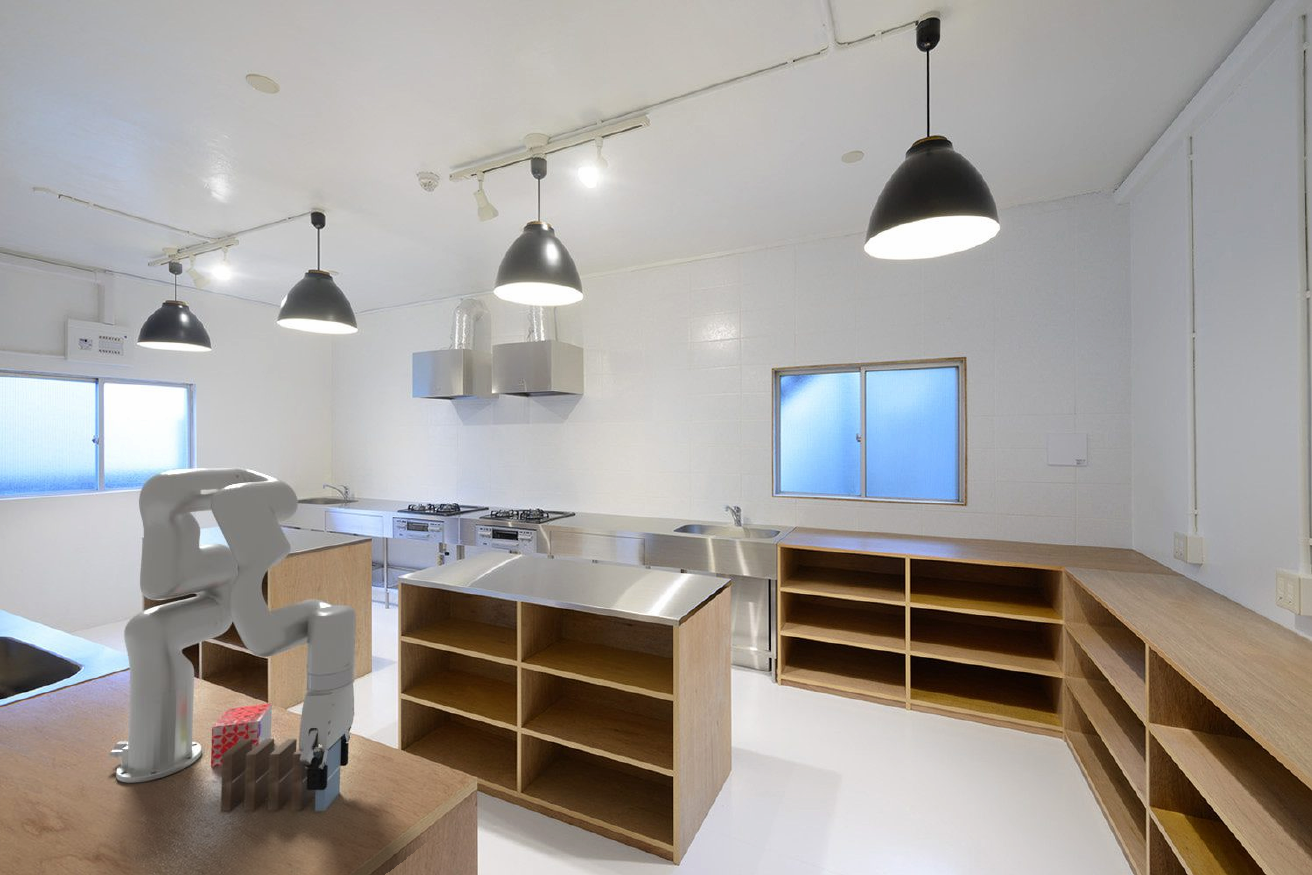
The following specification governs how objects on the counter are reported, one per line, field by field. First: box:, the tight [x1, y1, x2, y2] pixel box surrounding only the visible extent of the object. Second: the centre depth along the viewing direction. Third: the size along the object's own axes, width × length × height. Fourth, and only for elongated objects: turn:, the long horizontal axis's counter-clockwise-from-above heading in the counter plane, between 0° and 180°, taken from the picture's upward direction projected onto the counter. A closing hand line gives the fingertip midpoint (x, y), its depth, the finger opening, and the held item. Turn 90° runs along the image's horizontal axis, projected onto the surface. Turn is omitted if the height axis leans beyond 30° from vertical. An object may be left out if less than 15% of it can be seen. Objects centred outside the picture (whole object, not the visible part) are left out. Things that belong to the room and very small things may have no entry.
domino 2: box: [244, 738, 275, 813], centre depth 97 cm, size 2×5×10 cm, turn 3°
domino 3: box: [267, 738, 298, 813], centre depth 97 cm, size 2×5×10 cm, turn 3°
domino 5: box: [314, 738, 341, 812], centre depth 98 cm, size 2×5×10 cm, turn 3°
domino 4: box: [291, 744, 320, 812], centre depth 97 cm, size 2×5×10 cm, turn 3°
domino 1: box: [220, 739, 252, 813], centre depth 97 cm, size 2×5×10 cm, turn 3°
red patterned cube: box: [210, 702, 273, 768], centre depth 112 cm, size 8×8×8 cm
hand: (328, 775), depth 98 cm, fingers open, 6 cm apart
